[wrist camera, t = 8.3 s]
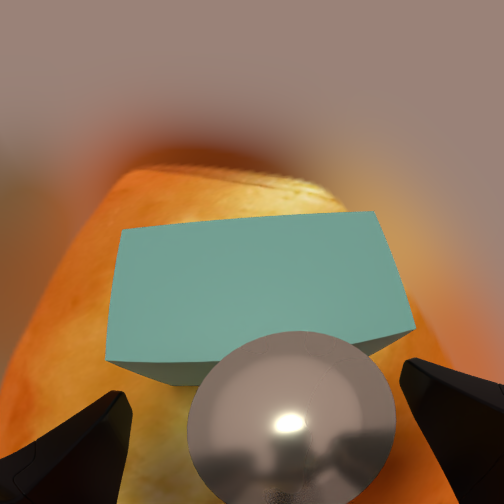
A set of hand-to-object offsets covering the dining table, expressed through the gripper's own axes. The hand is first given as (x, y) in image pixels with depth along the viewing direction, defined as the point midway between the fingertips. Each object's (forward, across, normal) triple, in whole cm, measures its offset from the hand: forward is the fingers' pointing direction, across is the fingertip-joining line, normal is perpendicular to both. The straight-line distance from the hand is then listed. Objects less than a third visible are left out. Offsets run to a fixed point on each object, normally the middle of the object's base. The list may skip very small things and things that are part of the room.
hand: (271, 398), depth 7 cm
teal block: (+8, 0, +2) cm, 8 cm away
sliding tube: (+1, 0, +8) cm, 8 cm away
